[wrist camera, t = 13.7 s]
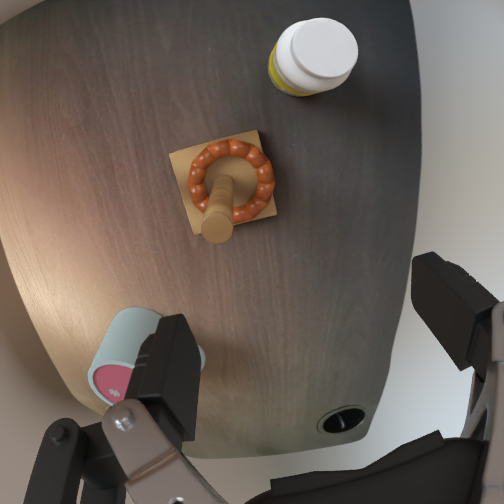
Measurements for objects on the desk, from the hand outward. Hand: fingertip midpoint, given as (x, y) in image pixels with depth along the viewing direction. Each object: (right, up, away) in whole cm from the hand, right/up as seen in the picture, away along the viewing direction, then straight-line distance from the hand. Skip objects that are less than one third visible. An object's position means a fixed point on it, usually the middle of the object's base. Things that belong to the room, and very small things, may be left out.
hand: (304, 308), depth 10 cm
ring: (-4, +9, +20) cm, 22 cm away
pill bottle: (+3, +20, +17) cm, 27 cm away
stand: (-5, +9, +22) cm, 24 cm away
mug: (-14, -9, +30) cm, 34 cm away
